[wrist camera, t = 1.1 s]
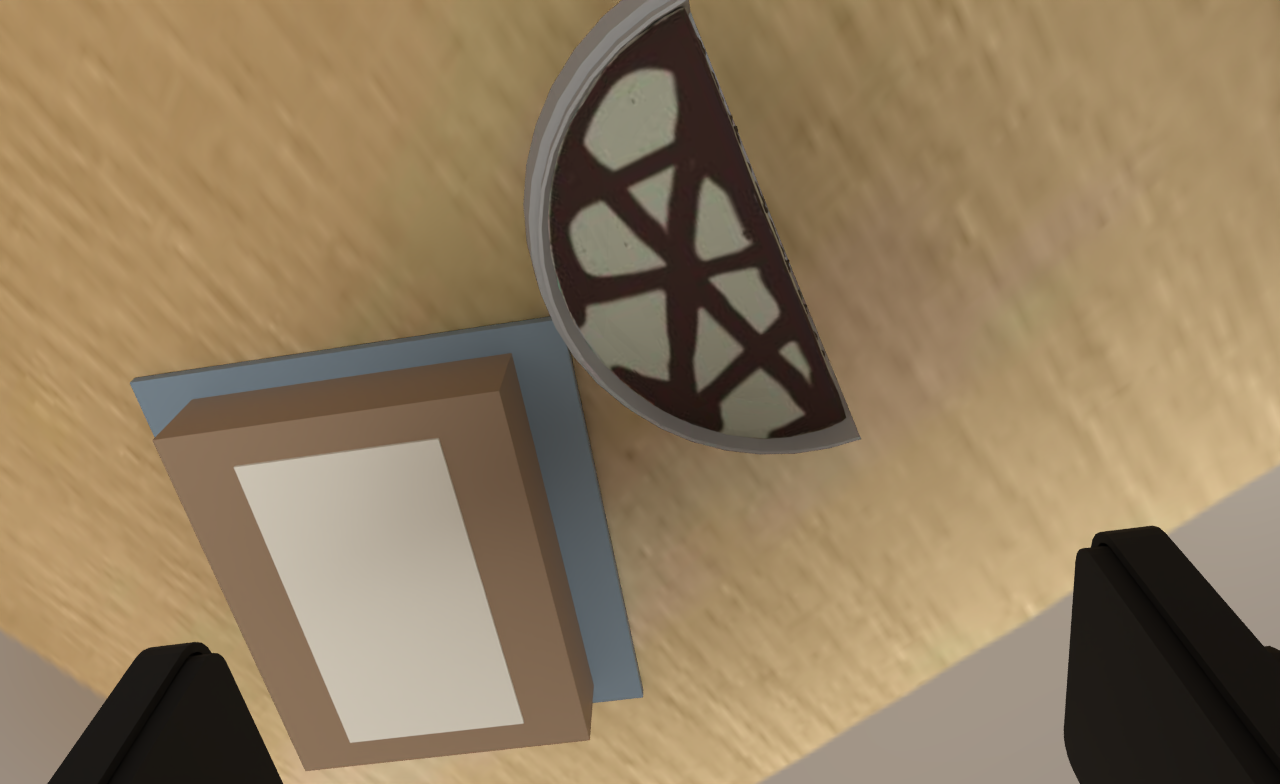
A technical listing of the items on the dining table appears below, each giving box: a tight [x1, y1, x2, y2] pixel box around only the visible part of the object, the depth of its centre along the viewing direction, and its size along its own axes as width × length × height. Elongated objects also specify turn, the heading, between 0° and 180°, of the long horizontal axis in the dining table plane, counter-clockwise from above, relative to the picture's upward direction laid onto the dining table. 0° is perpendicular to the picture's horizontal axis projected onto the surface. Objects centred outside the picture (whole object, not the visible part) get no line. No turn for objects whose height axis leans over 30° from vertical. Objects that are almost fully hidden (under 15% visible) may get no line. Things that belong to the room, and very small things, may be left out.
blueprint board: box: [130, 316, 643, 771], centre depth 35 cm, size 16×18×4 cm
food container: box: [523, 0, 861, 454], centre depth 26 cm, size 12×6×10 cm, turn 24°
